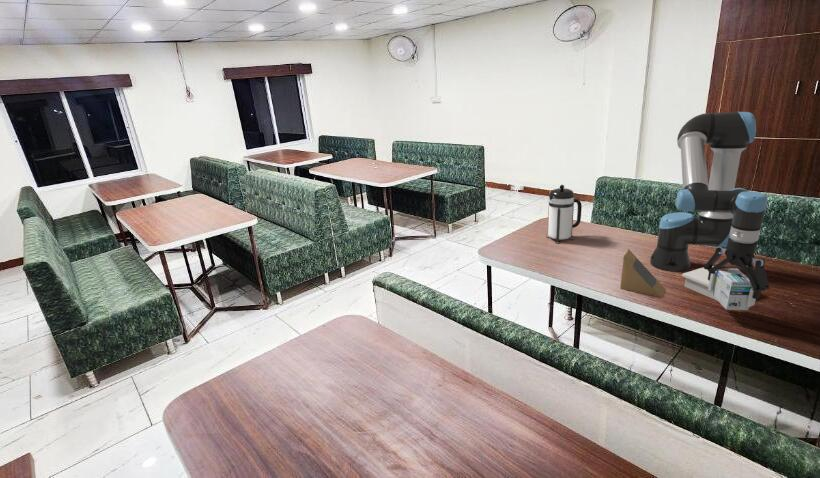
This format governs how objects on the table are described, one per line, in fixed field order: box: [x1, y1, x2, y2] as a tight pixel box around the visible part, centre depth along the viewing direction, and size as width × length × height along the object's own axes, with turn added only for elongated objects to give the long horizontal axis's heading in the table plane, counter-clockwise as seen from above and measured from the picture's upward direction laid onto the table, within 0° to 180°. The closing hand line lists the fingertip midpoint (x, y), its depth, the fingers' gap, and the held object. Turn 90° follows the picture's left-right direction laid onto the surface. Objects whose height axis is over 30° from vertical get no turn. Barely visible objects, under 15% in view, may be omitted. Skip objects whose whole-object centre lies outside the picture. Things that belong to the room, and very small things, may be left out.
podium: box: [681, 265, 719, 302], centre depth 159 cm, size 16×16×6 cm
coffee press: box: [545, 184, 583, 243], centre depth 218 cm, size 17×16×30 cm
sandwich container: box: [620, 248, 667, 298], centre depth 162 cm, size 9×15×15 cm, turn 53°
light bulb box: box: [712, 267, 753, 311], centre depth 140 cm, size 11×7×11 cm, turn 168°
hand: (730, 297), depth 141 cm, fingers closed on light bulb box, 12 cm apart
